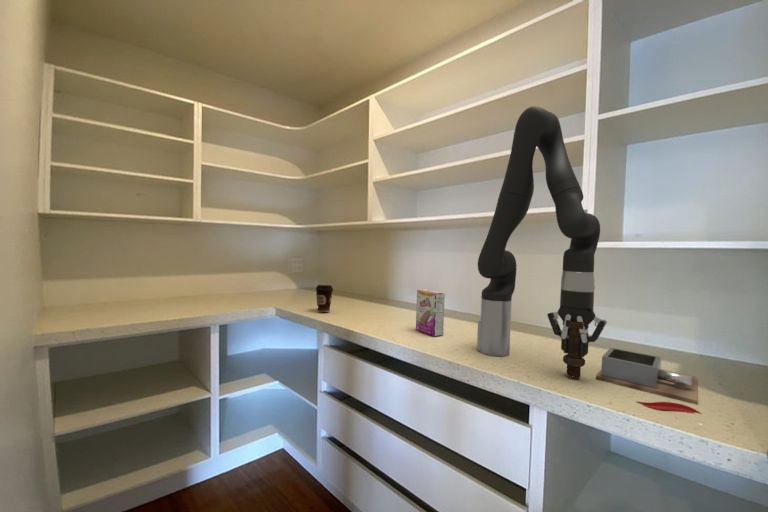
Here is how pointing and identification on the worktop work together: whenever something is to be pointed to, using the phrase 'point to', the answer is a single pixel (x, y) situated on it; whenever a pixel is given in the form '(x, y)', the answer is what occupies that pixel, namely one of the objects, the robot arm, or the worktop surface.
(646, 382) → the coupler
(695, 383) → the base
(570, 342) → the bolt
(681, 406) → the cayenne pepper
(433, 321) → the candy bar box
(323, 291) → the coffee cup
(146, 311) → the worktop surface
